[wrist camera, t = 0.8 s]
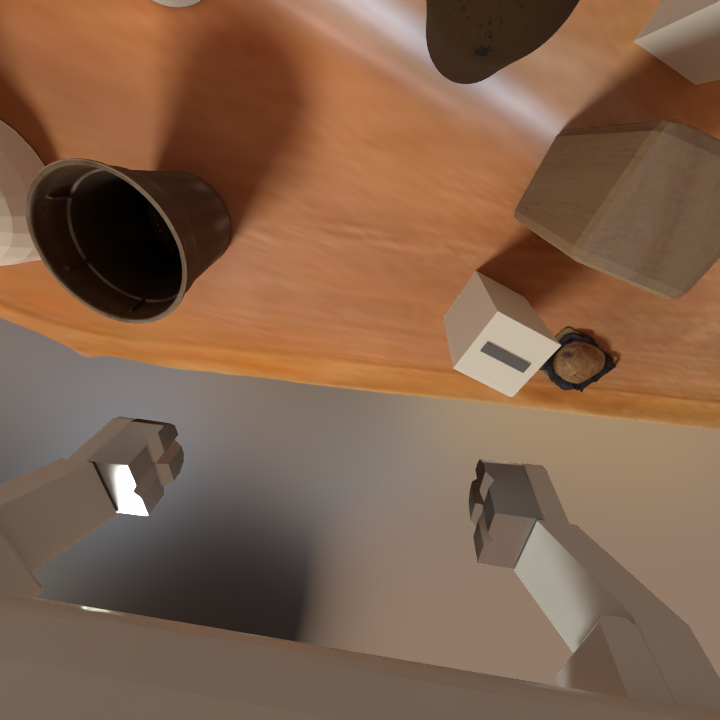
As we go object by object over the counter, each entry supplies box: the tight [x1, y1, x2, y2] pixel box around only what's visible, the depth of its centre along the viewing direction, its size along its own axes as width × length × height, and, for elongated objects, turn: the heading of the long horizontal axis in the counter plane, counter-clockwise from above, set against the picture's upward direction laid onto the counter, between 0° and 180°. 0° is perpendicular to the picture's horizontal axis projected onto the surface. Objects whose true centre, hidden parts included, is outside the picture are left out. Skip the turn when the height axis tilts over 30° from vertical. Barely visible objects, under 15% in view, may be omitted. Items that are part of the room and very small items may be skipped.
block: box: [514, 119, 720, 299], centre depth 34 cm, size 10×10×20 cm
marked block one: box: [443, 271, 561, 398], centre depth 45 cm, size 8×8×14 cm
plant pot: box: [25, 158, 231, 324], centre depth 43 cm, size 16×16×16 cm
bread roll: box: [539, 327, 616, 392], centre depth 52 cm, size 11×8×4 cm
